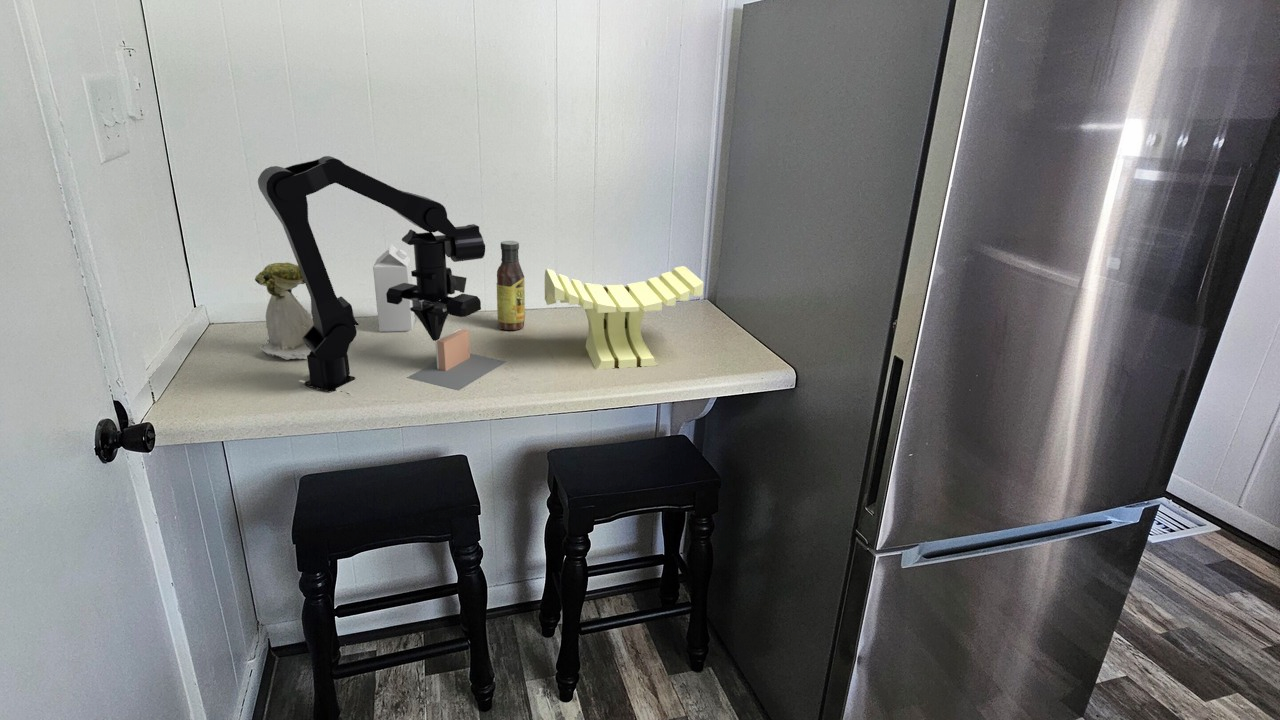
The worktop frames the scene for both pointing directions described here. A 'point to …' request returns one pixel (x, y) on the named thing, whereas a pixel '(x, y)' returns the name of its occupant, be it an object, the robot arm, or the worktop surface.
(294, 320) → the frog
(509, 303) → the sauce bottle
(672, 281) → the yellow slatted pedestal stand
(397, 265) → the milk carton
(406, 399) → the worktop surface
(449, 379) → the mat
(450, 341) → the tile
